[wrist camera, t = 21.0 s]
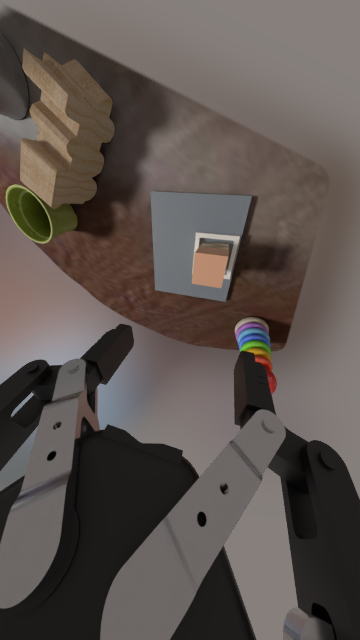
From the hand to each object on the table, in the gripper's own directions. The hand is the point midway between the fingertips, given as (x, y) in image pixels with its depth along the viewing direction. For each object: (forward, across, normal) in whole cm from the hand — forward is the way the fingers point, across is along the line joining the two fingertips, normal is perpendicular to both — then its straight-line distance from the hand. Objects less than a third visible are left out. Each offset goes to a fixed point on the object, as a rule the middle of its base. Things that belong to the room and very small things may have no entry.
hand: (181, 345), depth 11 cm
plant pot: (+28, +36, -5) cm, 46 cm away
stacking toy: (+28, -12, +17) cm, 35 cm away
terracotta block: (+22, 0, 0) cm, 22 cm away
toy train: (+28, +26, -15) cm, 41 cm away
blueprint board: (+28, +4, 0) cm, 28 cm away
